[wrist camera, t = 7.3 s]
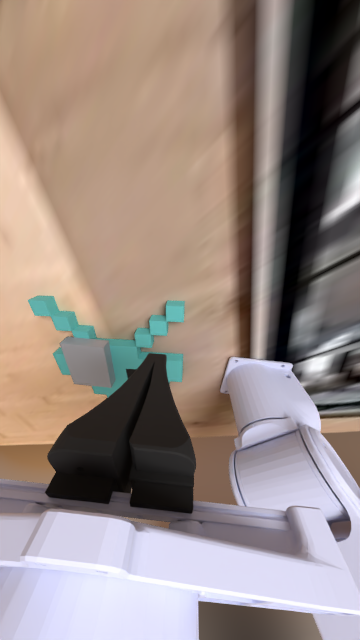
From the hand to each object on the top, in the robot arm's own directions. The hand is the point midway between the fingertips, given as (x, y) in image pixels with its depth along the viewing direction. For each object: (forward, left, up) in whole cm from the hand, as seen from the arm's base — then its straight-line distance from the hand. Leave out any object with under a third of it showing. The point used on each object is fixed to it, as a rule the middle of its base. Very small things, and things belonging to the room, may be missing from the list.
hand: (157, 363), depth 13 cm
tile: (+8, +10, -8) cm, 15 cm away
